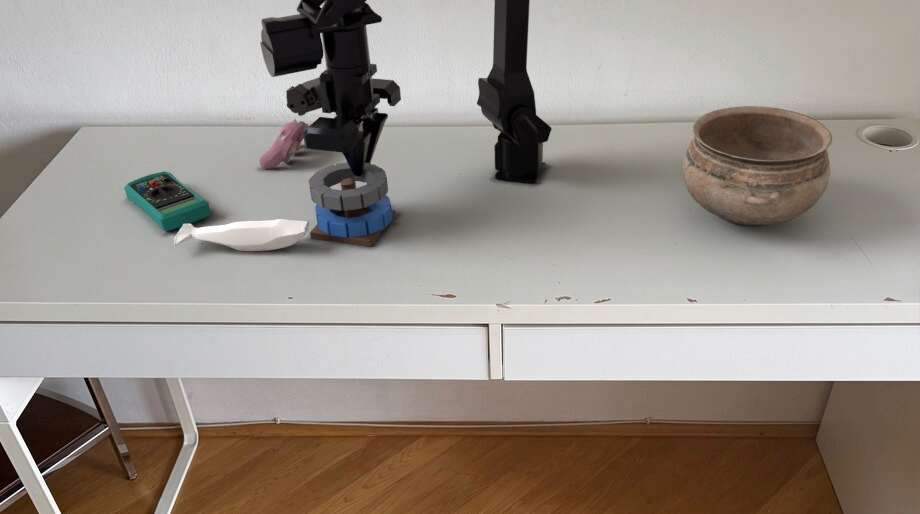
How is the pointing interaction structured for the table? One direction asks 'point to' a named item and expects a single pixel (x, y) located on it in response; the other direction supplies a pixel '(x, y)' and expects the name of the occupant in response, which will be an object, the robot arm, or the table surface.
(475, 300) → the table surface
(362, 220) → the blue ring
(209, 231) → the toy fish
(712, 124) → the cooking pot
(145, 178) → the digital multimeter
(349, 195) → the grey ring
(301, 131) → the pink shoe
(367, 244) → the peg stand
